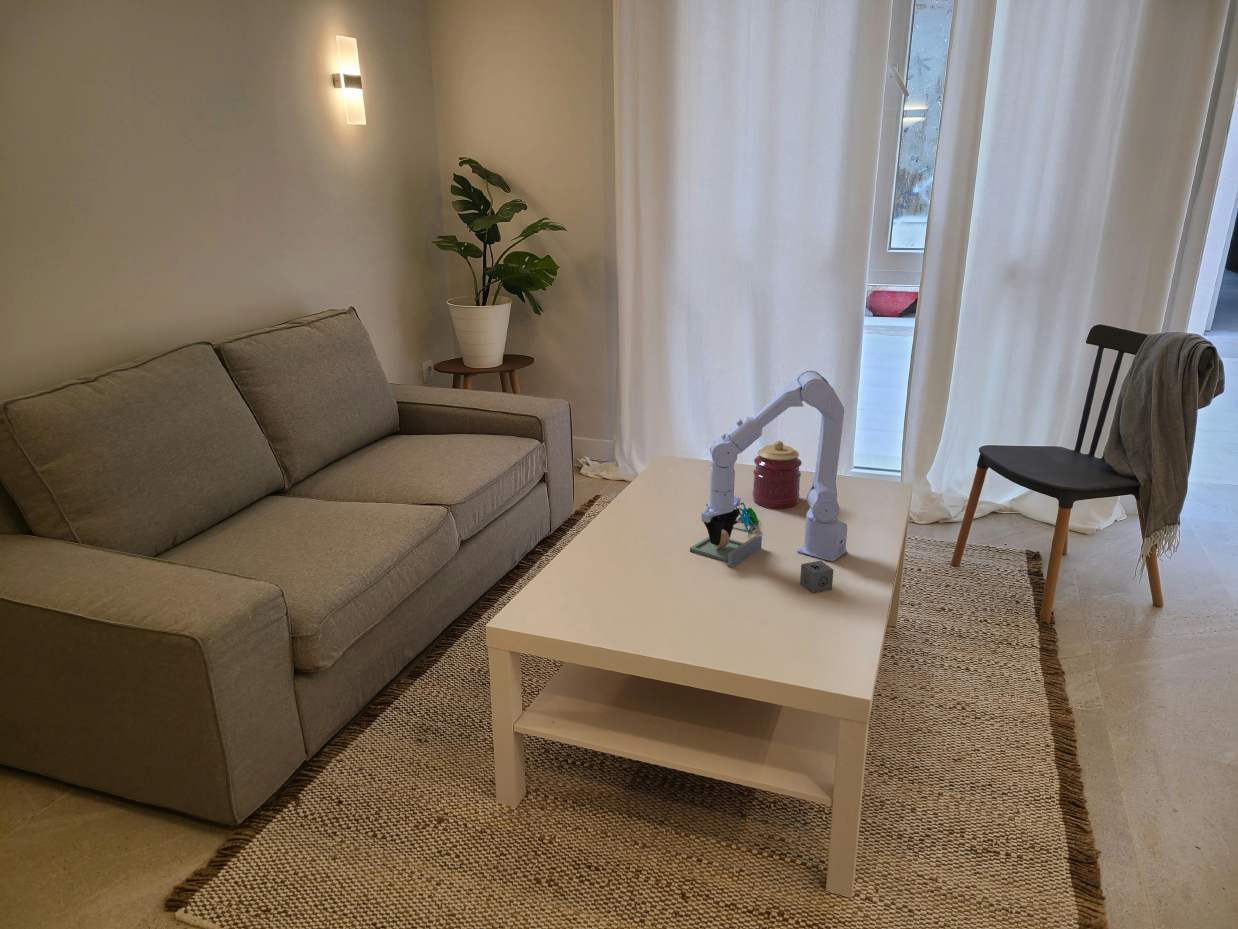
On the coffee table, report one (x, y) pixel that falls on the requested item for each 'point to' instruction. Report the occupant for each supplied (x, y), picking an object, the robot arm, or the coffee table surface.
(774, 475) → the canister
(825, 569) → the dice cube
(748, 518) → the stick construction toy
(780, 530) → the coffee table surface
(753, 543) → the low wall
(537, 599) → the coffee table surface
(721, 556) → the green tray
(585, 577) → the coffee table surface
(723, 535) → the rubber ball
